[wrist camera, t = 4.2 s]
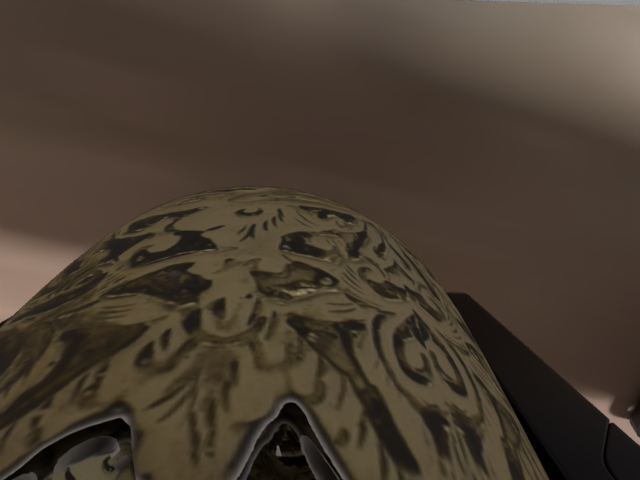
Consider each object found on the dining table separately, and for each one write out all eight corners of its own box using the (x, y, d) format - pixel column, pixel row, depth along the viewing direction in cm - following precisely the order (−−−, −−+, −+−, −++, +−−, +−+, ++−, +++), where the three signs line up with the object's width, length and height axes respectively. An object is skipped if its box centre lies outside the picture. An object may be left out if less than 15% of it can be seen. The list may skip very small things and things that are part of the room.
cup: (334, 404, 14) (338, 877, 7) (67, 295, 12) (-290, 803, 5) (526, 197, 10) (920, 754, 3) (188, -9, 8) (-479, 333, 1)
